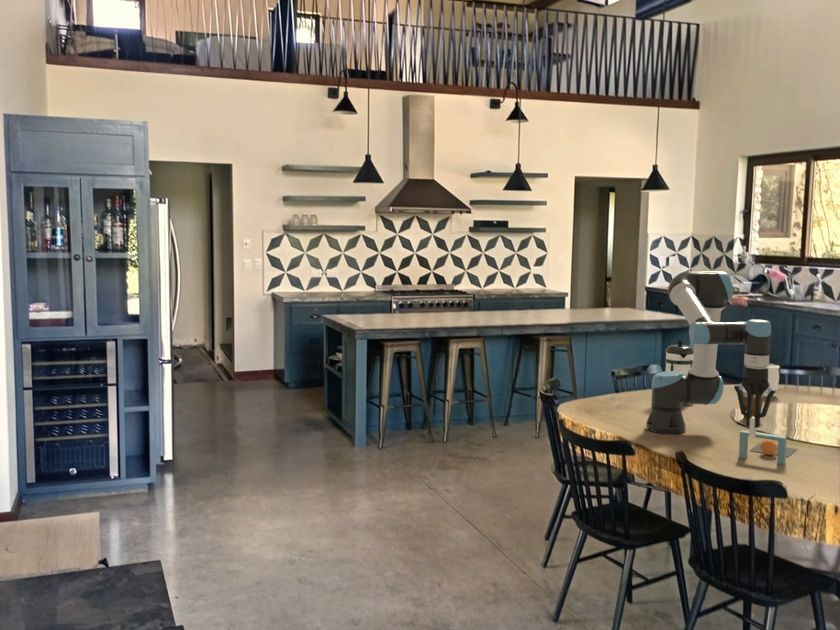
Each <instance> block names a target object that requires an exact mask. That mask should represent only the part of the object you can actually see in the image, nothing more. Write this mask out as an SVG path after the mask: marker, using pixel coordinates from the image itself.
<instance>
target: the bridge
mask: <svg viewBox="0 0 840 630" xmlns="http://www.w3.org/2000/svg"><path fill="white" fill-rule="evenodd" d="M754 438H756V439H763V440H772V441H777V446H778V454H777V455H776V456H777V458H776V459H777V460H776V464H777V465H782V466H784V465H785V464H786V462H787V461H786V459H787V457H786V447H787V441H788V440H787V439H788V437H787V436H786V435H785V436H784V435H780V434H779V435H778V434H771V433H764V432H758V431H756V436H755V437H754ZM738 443H739V448H738V458H740V459H746V458H747V457H748V449H749V448H748V447H749V446H748V445H749V444H748V443H749V430H740V431H739V442H738Z"/></svg>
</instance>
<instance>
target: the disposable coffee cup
mask: <svg viewBox="0 0 840 630" xmlns="http://www.w3.org/2000/svg"><path fill="white" fill-rule="evenodd" d="M742 391H743V395H744V400H745V405H746V410H747V399H748V397H747V392H746V390H745V389H743V390H742ZM755 396H756V395H754V396H753V412H752V414H753V415H752V416H753V417H755V403H756V398H755ZM764 397H766V396H765V395H764V393H763V394H762V399H761V409H763V408H762V407H763V402H764ZM742 416H743V419H744V418H747V417H746V416H745V415H742Z"/></svg>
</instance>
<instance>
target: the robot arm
mask: <svg viewBox="0 0 840 630" xmlns="http://www.w3.org/2000/svg"><path fill="white" fill-rule="evenodd" d="M732 281H733V280H732V279H731V276H730V275H729V274H728V273H727V272H725V271H718V270H717V271H716V270H698V271H697V270H695V271H693V270H687V271H682V272H680V273H678V274H676V275H675V276H674V277H672V279H671V280H670V282H669V284H668V287H667V294H668V295H667V296H668V297H669V299H670V301H671V302H672V303H673V305H674V306H677V308H678V309H679V310H680V311H681V313H682V315H683V317H684V318H685V320H686V322H688V325H689V329H688V337H689V340H690V342H691V343H692V344H694V345H693V351H694V354H693V366H692V367H691V368H690V369H688V375H683V373H682V372H680V371H666V370H665V371H661V372H657V373H655V374H654V375H653V377H652V381H651V405H650V406H651V409H650V412H649V415H648V418H647V420H646V425H645V428H646V427H647V428H648V429H650V430H653V431H656V432H655V433H657V432H661V433H660V434H665V433H670V435H673V434H674V435H675V434H676V433H678V434H683V433H685V432H686V429H687V428H686V422H685V419H684V415H683V413H682V412H683V411H682V407H683V405H689V404H693V405H702V406H703V405H704V406H707V405H716V404H718V403H719V401H720V400H721V398H722V396H723V393H724V379H723V377H722V376H721V375H720V373H719V372H720V371H718V370H717V369H716V365H717V354H718V346H719V345H744V359H743V365H744V367H743V375H742V376H743V378H742V380H741V382H740V383H739V384H736V385H734V386H733V387H734V390H735V392H736V394H737V399H738V404H739V409H740V414H741V415H742V416H743V415H745V416H746V417H747V419H746V425H745V426H746V427H749V430H748V431H749V436H748V438H756V437H755V436H756V432H757V429H758V428H760V425H761V419H762V418H765V417H766V416H767V414H768V411H769V408H770V405H771V404H772V403H771V402H772V400H773V395H774V394H776V393H777V390H775V389H772V388H771V387H770V386H769V383H768V372H769V369H768V368H767V367H768V366H769V364H770V353H771V352H770V350H771V349H770V348H771V339H772V338H771V337H772V336H771V335H772V325H771V324H772V323H771V322H770V321H769V320H766V319H748V320H747V321H746V320H745V321H743V320H740V321H739V320H738V321H735V322H733V321H731V322H730V321H727V322H725V321H724V322H723V321H722V322H721V314H722V311H723V310H724V309H725V308H726V307H727V303H729V302H731V301H732V299H733V296H734V286H733V282H732ZM742 390H746V392H747V397H748V399H747V410H746V405H745V400H744V395H743V391H742ZM766 390H768V391H767V393H768V395H767V397H766V398H765V402H764V404H763V406H762V407H763V408H761V399H762V394H763V393H764V392H765V391H766ZM754 395H756V396H755V398H756V403H755V417H753V416H752V415H753V414H752V412H753V396H754ZM648 429H647V430H648ZM650 430H649V431H650ZM653 431H652V432H653ZM676 435H677V434H676Z"/></svg>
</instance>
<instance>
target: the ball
mask: <svg viewBox="0 0 840 630" xmlns="http://www.w3.org/2000/svg"><path fill="white" fill-rule="evenodd" d="M777 446H778V444H777V443H776V442H775V440H769V439H763V441H761V445H760V449H761V451H762V452H763V453H762V454H764V455H766V456H774V455H773V454H775V453H776V451H777Z"/></svg>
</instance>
